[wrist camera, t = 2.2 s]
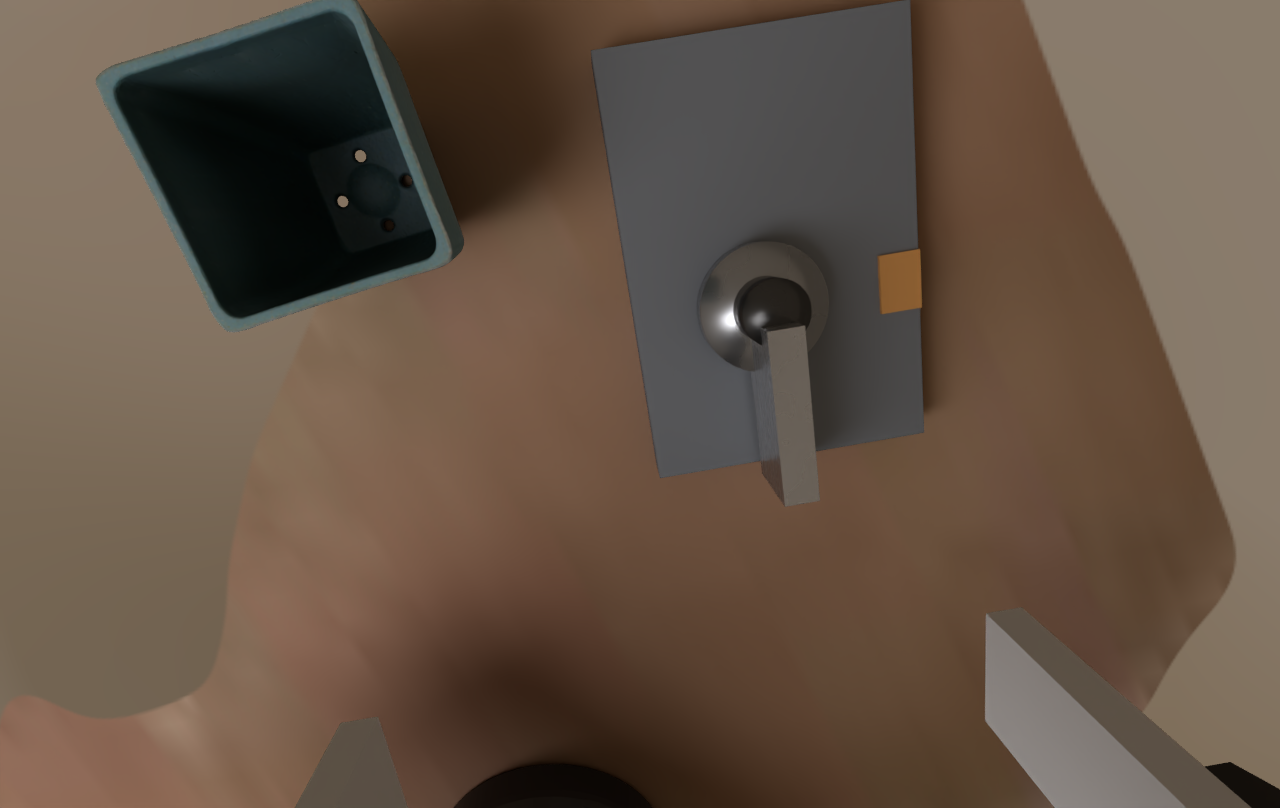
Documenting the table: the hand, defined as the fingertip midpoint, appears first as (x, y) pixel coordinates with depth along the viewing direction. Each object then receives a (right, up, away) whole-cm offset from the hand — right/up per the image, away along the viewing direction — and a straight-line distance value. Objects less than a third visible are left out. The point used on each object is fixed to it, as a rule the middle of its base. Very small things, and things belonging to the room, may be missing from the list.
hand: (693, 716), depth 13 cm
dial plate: (+5, +14, +18) cm, 23 cm away
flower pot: (-14, +17, +16) cm, 27 cm away
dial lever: (+5, +9, +17) cm, 20 cm away
